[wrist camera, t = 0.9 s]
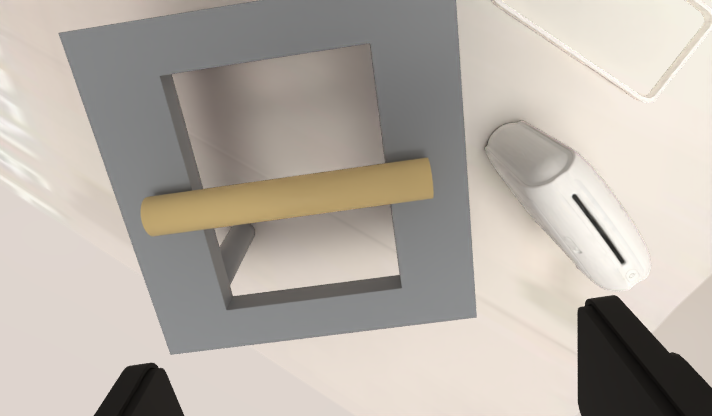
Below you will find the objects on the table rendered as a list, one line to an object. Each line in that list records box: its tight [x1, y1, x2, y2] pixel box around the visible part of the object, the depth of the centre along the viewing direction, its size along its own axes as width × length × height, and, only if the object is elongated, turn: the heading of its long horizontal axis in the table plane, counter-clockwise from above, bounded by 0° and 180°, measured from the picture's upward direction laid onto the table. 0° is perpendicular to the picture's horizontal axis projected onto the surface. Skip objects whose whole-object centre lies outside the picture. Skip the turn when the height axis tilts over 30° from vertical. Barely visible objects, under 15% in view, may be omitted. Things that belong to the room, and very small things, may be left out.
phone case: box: [491, 0, 712, 103], centre depth 34 cm, size 7×1×15 cm
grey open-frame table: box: [59, 0, 477, 355], centre depth 30 cm, size 18×18×16 cm
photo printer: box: [485, 120, 651, 291], centre depth 33 cm, size 10×4×12 cm, turn 40°
